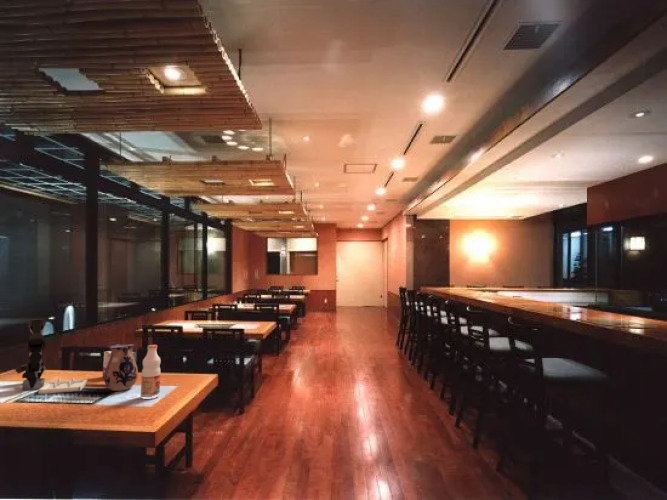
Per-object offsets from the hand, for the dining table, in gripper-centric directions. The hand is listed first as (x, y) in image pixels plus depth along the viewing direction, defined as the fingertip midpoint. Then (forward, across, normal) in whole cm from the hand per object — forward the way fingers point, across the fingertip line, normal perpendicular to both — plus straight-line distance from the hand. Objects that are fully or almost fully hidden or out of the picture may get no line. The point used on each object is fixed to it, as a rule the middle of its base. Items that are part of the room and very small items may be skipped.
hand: (33, 386), depth 230 cm
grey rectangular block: (+1, 0, 0) cm, 1 cm away
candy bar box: (+1, -14, +38) cm, 41 cm away
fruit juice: (+1, +37, +64) cm, 74 cm away
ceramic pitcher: (+1, +14, +46) cm, 48 cm away
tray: (+1, +4, +16) cm, 17 cm away
